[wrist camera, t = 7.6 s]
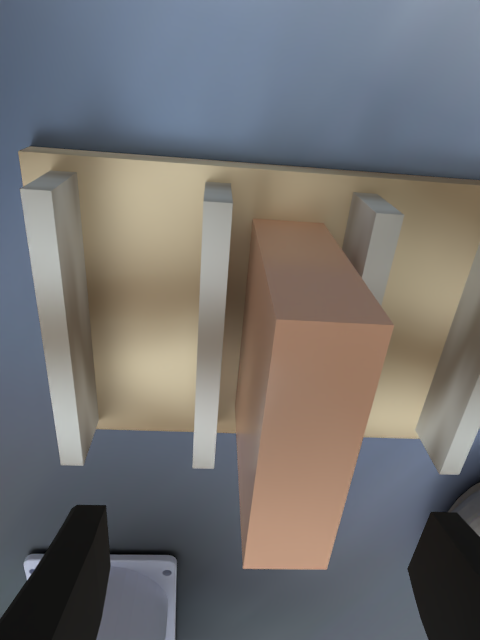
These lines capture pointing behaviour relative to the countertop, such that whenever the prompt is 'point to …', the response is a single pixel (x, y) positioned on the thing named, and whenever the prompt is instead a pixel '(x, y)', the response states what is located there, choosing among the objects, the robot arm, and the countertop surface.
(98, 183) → the dish rack
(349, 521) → the countertop surface
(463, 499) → the coffee pot
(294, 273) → the upright peach slab
